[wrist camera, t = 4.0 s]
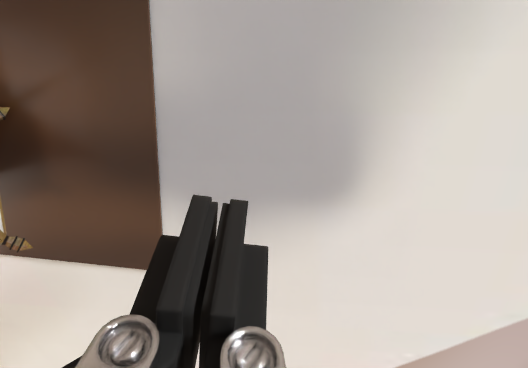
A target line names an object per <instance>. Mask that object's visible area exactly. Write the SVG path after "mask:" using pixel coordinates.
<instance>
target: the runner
mask: <svg viewBox="0 0 528 368" xmlns="http://www.w3.org/2000/svg"><path fill="white" fill-rule="evenodd" d="M0 107H10V108H9V110H8V112H7V114H6V116H5V120H3V119H2V120H0V196H1V202H2V208H3V214H4V220H5V226H6V233H7V235H8V236H9V237H16V236H18V238H22V239H23V238H25V240H26V241H27V242H28V243H29V244H30V245H31V246H32V247H33V248H31V249H26V250H22V251H18V253H17V251H16V250H13V249H11V250H9V249H10V248H9V247H7V246H6V245H0V254H2V255H12V256H21V257H31V258H40V259H50V260H59V261H68V262H78V263H87V264H97V265H106V266H115V267H125V268H134V269H144V270H147V269H148V266H149V264H150V261H151V258H152V256H153V253H154V251H155V248H156V246H157V243H158V241H159V238H160V237H161V235H162V219H161V201H160V184H159V166H158V149H157V132H156V114H155V97H154V79H153V62H152V45H151V27H150V10H149V0H0Z"/></svg>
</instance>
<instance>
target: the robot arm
mask: <svg viewBox="0 0 528 368" xmlns="http://www.w3.org/2000/svg"><path fill="white" fill-rule="evenodd" d="M247 207H248V201H242V200H234V199H231V200H230V204H227V203H223V206H222V211H221V216H220V221H219V226H218V231H217V235H216V227H217V211H218V202H212V197H208V196H199V195H193V197H192V199H191V203H190V206H189V209H188V212H187V215H186V218H185V221H184V224H183V227H182V230H181V233H180V236H179V237H177V236H168V235H161V237H160V238H159V241H158V243H157V246H156V248H155V251H154V253H153V256H152V258H151V261H150V264H149V266H148V269H147V271H146V274H145V276H144V279H143V282H142V284H141V287H140V289H139V292H138V294H137V297H136V300H135V302H134V305H133V307H132V310H131V312H130V315H125V316H120V317H118V318H116V319H113V320H111V321H110V322H108V323H107V324H106V325H104V326H103V327H102V328H101V329H100V330H99V332H98V333H97V334H96V335H95V337H94V338H93V340H92V342H91V343H90V345H89V346H88V348H87V349H86V351H85V353H84V354H83V355H82V356H81V357H79V358H77V359H76V360H74V361H72V362H71V363H69V364H67V365H66V366H64V367H62V368H195V364H196V359H197V354H198V349H199V343H200V356H199V368H286V365H285V359H284V353H283V350H282V347H281V344H280V343H279V342H278V340H277V339H276V337H275V336H274V335H272V334H271V333H270V332H269V331H267V330H266V308H267V274H268V247H267V246H258V245H249V244H244V235H245V225H246V216H247Z"/></svg>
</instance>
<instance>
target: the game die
mask: <svg viewBox="0 0 528 368" xmlns="http://www.w3.org/2000/svg"><path fill="white" fill-rule="evenodd" d="M9 108H10V107H0V120H2V119H3V120H5V116H6V114H7V112H8V110H9ZM0 245H6V246H7V247H9V248H10V249H9V250H11V249H13V250H16V251H17V253H18V251H22V250H26V249H31V248H33V247H32V246H31V245H30V244H29V243H28V242H27V241H26V240H25V238H23V239H22V238H18V236H16V237H9V236H8V235H7V233H6V226H5V220H4V214H3V208H2V202H1V196H0Z"/></svg>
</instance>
